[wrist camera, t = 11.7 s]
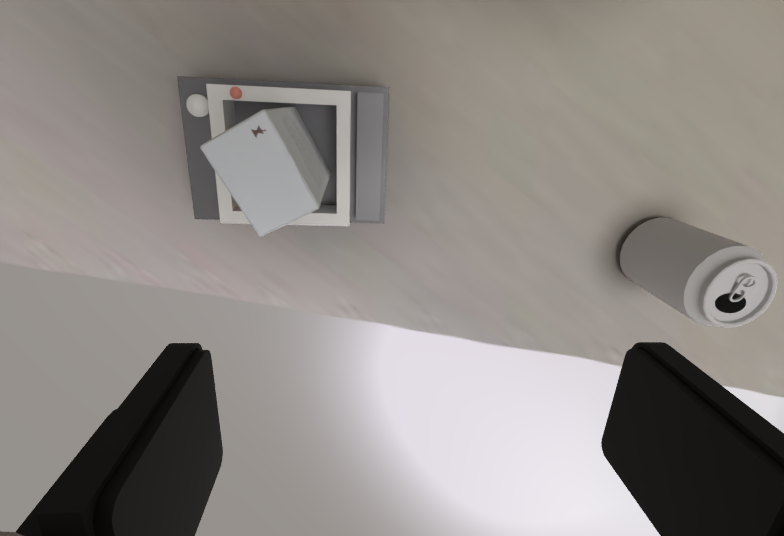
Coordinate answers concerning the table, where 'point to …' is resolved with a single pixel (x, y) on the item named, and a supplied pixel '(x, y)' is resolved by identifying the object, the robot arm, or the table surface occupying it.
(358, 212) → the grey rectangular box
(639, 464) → the robot arm
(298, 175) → the skincare box
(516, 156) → the table surface
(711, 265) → the can
